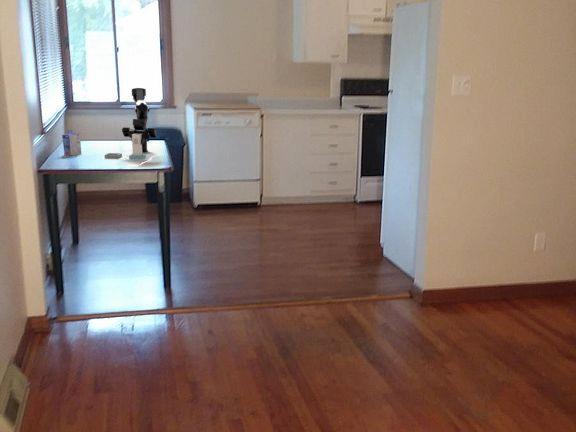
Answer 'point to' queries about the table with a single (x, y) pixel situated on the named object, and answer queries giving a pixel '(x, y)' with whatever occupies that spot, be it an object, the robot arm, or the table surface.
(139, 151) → the plug
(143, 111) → the robot arm
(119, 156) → the socket board
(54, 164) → the table surface
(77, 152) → the ink cartridge box
